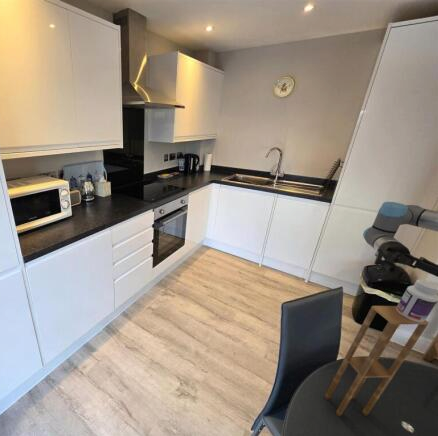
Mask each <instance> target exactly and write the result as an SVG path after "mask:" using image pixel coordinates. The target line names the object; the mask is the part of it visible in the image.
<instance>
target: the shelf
mask: <svg viewBox="0 0 438 436" xmlns="http://www.w3.org/2000/svg"><path fill="white" fill-rule="evenodd" d="M396 307H397V305H372V306H371V307H370V309H371V308H373V309H374V310H375V311H376V312H377V314H379V315H380V316H381V317H382V318H384V319H385V320H386V321H387V322H390V323H391V324H399V325H418V324H428V325H429V324H430V322H429V321H428V320H427V319H426V320H425V321H424V322H415V321H412V320H410V319H407V318H405V317H404V316H402V315H401V314H399V313H398V312H397V310H396Z"/></svg>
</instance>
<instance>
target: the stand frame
mask: <svg viewBox="0 0 438 436" xmlns="http://www.w3.org/2000/svg"><path fill="white" fill-rule="evenodd" d="M376 314H378V312H376V311H375V310H374V309H373V308H371V307H370V309H369V311H368V313H367V314H366V317H365V319H364V320H363V322H362V324H361V326H360V328H359V329H358V331H357V334H356V336H355V337H354V339H353V340H352V343H351V345H350V347H349V348H348V350H347V352H346V354H345V356H344V358H343V360H342V362H341V364H340V366H339V367H338V369H337V372H336V373H335V375H334V376H333V379H332V380H331V382H330V385H329V386H328V388H327V390H326V392H325V393H324V399H326V400H330V398H331V397H332V395H333V393H334V392H335V389H336V387H337V386H338V384H339V382H340V381H341V379H342V376H343V375H344V373H345V371H346V370H347V367H348V365H350V366H351V367H352V368H353V369H354V371H356V373H357V375H356V377H355V378H354V380H353V381H352V383H351V385H350V387H349V388H348V390H347V392H346V394H345V395H344V397H343V399H342V401H341V402H340V403H339V406H338V407H337V409H336V411H335V414H336V416H337V417H342V415H343V413H344V411H345V410H346V408H347V406H348V405H349V403H350V402H351V400H354V399H355V398H356V396H357V395H358V393H359V392H360V390H361V389H362V388H363V385H364V383H365V382H366V381H367V379H371V378H372V379H373V378H376V379H377V378H381V379H382V380H381V382H380V383H379V385H378V386H377V388H376V389H375V390H374V393H372V395H371V397H370V398H369V400H368V401H367V403H366V405H365V406H364V407H363V409H362V410H361V413H362V414H363V416H369V413H370V412H371V411H372V409H373V408H374V406H375V405H376V403H377V401H378V400H379V399H380V397H381V396H382V395H383V392H385V390H386V388H387V387H388V385H389V383H390V382H391V381H392V380H393V378H394V377H395V375H396V374H397V372H398V370H399V369H400V367H402V364H403V363H404V361H405V360H406V358H407V357H408V355H409V354H410V352H411V351H412V349H414V346H415V345H416V343H417V342H418V340H419V339H420V337H421V336H422V335H423V333H424V331H425V330H426V329H427V328H428V326H429V324H417V326H416V328H415V329H414V331H413V332H412V334H411V335H410V337H409V338H408V339H407V341H406V343H405V344H404V346H403V348H402V349H401V350H400V352H399V353H398V355H397V357H396V358H395V360H394V362H393V363H392V364H391V366H390V368H389V369H388V370H387V368H386V367H385V366H384V365H383V364H381V362H379V359H380V357H381V356H382V354H383V353H384V351H385V349H386V348H387V346H388V344H389V342H390V341H391V340H392V338H393V336H394V334H395V333H396V332H397V329H398V328H399V326H400V324H391V323H390V322H389V321H387V323H386V325H385V327H384V328H383V330H382V332H381V333H380V335H379V337H378V338H377V341H376V342H375V344H374V345H373V347H372V349H371V351H370V353H369V354H368V356H354V355H355V353H356V351H357V349H358V348H359V346H360V344H361V342H362V340H363V338H364V336H365V335H366V333H367V331H368V329H369V328H370V325H371V323H372V322H373V320H374V318H375V317H376Z"/></svg>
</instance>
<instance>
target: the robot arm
mask: <svg viewBox="0 0 438 436" xmlns="http://www.w3.org/2000/svg"><path fill="white" fill-rule="evenodd" d="M402 225H408V226H412V227H416V228H422V229H424V230H429V231H434V232H438V210H433V209H429V208H423V207H422V206H420V205H416V204H415V205H414V204H404V203H400V202H396V201H384V202H383V203H381V206H380V208H378V212H377V214H376V217H375V219H374V221H373V223H372V225H371V226H370V227H367V228H366V229H365V230H364V231H363V233H362V237H363V239H364V240H365V242H366V243H367V244H368V245H369V246H370V247H372V248H373V249H374V250H375V251H376V252H375V254H374V256H375V260H374V263H373V264H374V265H376V266H380V269H382V270H386V271H388V272H389V273H391V274H392V275H393V277H394V278H396V280H401V279H402V277H403V275H404V274H405V272H404V271H403V270H402V269H401V268H400V267H399V266H398V265H397V264H400V265H404V266H408V267H410V268H412V269H418V270H420V271H423V272H425V273H428V274H430V275H432V276H435V277H437V278H438V264H437V263H434V262H432V261H430V260H428V259H427V258H425V257H423V256H420V257H419V258H418V257H416V256H413V254H411V251H410V249H409V248H408V247H407V246H405V245H404V244H403V243H402V242H401V241H399V240H397V239H396V238H395V237H396V234H397V232H398V230H399V228H400V226H402Z"/></svg>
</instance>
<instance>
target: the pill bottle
mask: <svg viewBox="0 0 438 436" xmlns="http://www.w3.org/2000/svg"><path fill="white" fill-rule="evenodd" d="M437 294H438V285H437V284H436V283H434V282H431V281H428V280H425V279H421V278H419V279H416V281H414V284H413V285H409V286H407V288H406V289H405V291H404V293H403V295H402V296H401V298H400V300H399V301H398V303H397V305H396V306H397V307H396V310H397V312H398V313H399V314H401V315H402V316H404V317H405V318H407V319H410V320H412V321H415V322H424V321H425V320H426V321H427V319H428V316H430V314H431V312H432V310H433V309H434V307H435V306H436V305H437V303H438V295H437Z"/></svg>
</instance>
